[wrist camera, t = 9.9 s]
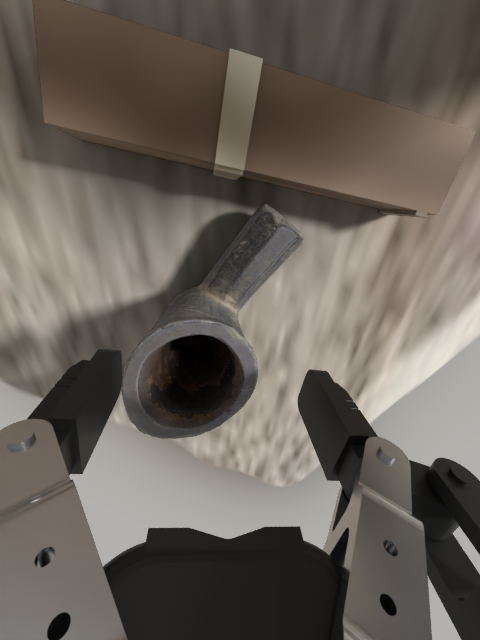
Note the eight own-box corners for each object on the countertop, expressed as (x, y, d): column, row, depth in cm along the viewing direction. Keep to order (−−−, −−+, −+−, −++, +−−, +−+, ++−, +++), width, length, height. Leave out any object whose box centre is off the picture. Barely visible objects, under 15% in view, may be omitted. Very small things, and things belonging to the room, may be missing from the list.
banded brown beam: (75, 41, 12) (27, -18, 9) (424, 143, 16) (481, 128, 13) (80, 145, 14) (41, 128, 11) (394, 216, 18) (438, 220, 14)
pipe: (300, 241, 18) (371, 274, 11) (196, 368, 21) (197, 457, 14) (232, 179, 16) (266, 169, 8) (126, 333, 19) (87, 418, 12)
